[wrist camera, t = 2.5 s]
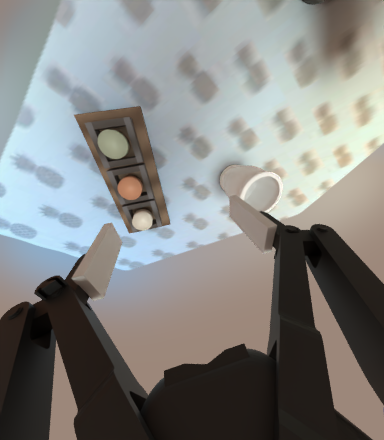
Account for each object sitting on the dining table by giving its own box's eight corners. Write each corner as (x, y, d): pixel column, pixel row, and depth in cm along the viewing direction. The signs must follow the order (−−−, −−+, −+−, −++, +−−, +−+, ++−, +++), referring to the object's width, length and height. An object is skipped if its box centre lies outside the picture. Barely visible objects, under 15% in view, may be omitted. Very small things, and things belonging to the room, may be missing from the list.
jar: (251, 182, 46) (287, 200, 33) (224, 200, 47) (249, 224, 35) (240, 153, 40) (277, 160, 28) (210, 174, 42) (232, 191, 29)
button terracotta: (117, 177, 33) (113, 180, 30) (138, 173, 33) (137, 176, 31) (125, 197, 35) (122, 201, 33) (145, 193, 36) (144, 197, 33)
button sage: (98, 132, 28) (92, 131, 25) (124, 128, 28) (120, 127, 26) (109, 159, 31) (105, 161, 28) (132, 155, 31) (130, 156, 29)
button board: (78, 116, 30) (65, 112, 25) (140, 107, 31) (138, 103, 27) (130, 229, 46) (127, 239, 41) (169, 221, 47) (170, 229, 43)
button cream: (131, 211, 37) (129, 216, 35) (149, 207, 38) (149, 212, 35) (137, 226, 40) (135, 232, 38) (154, 222, 41) (154, 228, 38)
